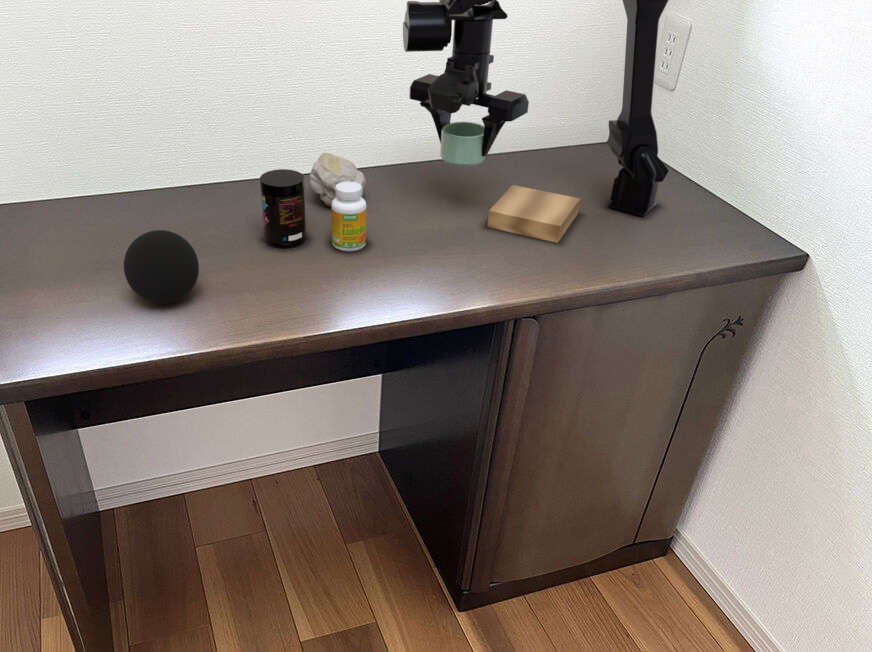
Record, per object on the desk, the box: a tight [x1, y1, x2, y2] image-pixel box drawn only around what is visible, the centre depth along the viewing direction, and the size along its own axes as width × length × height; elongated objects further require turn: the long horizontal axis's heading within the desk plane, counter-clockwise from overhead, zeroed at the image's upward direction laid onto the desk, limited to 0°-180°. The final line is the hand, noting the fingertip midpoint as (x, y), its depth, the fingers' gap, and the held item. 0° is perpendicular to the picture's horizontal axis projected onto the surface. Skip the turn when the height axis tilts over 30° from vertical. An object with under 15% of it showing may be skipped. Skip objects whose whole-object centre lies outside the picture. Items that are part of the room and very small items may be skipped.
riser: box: [486, 184, 581, 244], centre depth 133 cm, size 12×12×3 cm
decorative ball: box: [123, 229, 200, 305], centre depth 110 cm, size 10×10×10 cm
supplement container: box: [259, 168, 307, 249], centre depth 124 cm, size 7×7×10 cm
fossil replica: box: [309, 152, 367, 207], centre depth 137 cm, size 12×8×10 cm
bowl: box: [439, 121, 487, 168], centre depth 129 cm, size 7×7×5 cm
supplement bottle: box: [330, 182, 367, 252], centre depth 124 cm, size 5×5×10 cm
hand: (463, 150), depth 130 cm, fingers closed on bowl, 7 cm apart
